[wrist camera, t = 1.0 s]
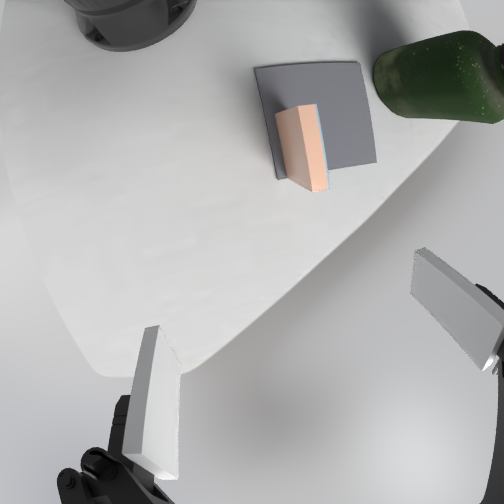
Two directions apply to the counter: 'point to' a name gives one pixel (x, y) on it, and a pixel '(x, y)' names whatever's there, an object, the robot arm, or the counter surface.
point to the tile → (303, 147)
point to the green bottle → (444, 78)
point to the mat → (321, 109)
